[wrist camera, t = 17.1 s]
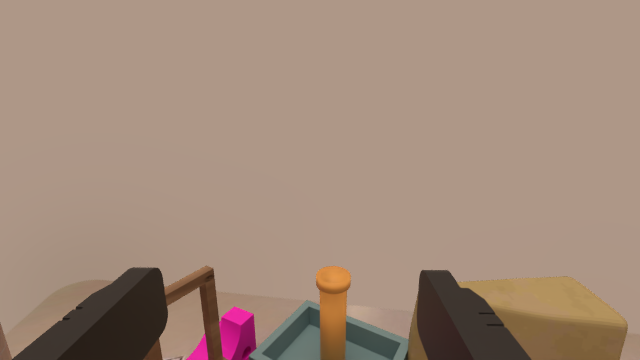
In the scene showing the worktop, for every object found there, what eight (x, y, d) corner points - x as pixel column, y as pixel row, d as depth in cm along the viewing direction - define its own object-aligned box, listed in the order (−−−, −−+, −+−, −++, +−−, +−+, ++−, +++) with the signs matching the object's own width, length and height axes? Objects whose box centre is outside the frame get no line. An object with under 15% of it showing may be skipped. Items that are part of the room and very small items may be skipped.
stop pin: (311, 373, 43) (309, 278, 39) (326, 351, 46) (327, 263, 42) (339, 388, 41) (340, 289, 37) (353, 364, 44) (356, 272, 40)
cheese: (413, 415, 38) (422, 311, 34) (400, 353, 48) (406, 265, 44) (605, 429, 36) (637, 320, 33) (552, 361, 46) (571, 271, 42)
